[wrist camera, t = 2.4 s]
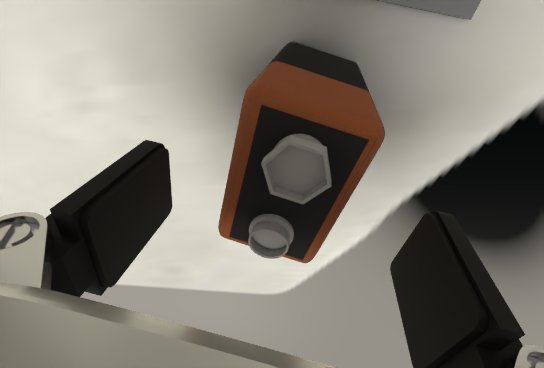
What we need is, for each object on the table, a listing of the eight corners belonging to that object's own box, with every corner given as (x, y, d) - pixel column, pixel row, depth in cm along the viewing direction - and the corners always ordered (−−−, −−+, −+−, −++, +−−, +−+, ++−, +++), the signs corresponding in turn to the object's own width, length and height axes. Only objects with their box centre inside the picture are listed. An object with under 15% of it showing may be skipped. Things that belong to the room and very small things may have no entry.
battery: (361, 63, 14) (402, 145, 6) (317, 162, 19) (309, 289, 11) (286, 38, 14) (234, 90, 6) (259, 143, 18) (205, 255, 10)
